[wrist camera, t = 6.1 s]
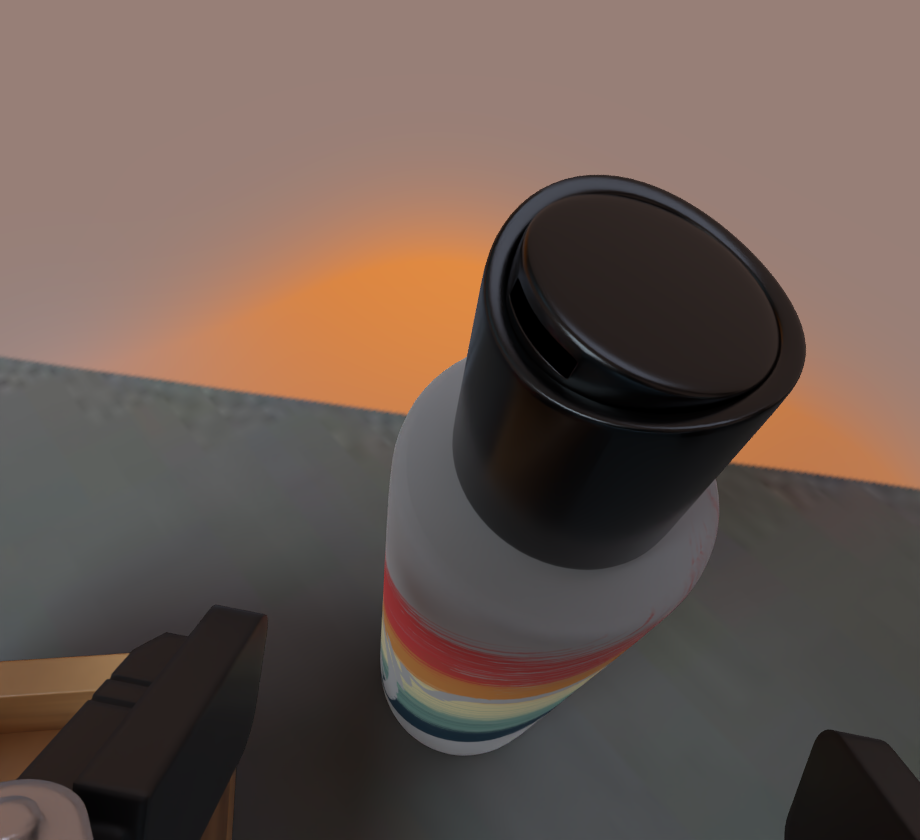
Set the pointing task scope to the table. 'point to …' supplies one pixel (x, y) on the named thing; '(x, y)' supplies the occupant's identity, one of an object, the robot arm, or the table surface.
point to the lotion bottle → (572, 454)
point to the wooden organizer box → (64, 715)
